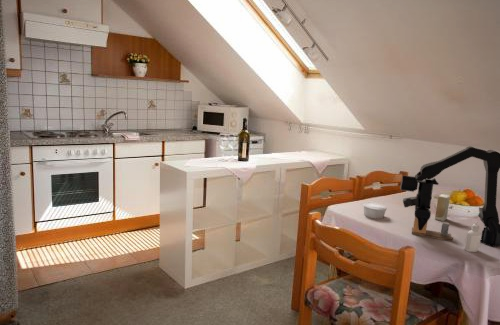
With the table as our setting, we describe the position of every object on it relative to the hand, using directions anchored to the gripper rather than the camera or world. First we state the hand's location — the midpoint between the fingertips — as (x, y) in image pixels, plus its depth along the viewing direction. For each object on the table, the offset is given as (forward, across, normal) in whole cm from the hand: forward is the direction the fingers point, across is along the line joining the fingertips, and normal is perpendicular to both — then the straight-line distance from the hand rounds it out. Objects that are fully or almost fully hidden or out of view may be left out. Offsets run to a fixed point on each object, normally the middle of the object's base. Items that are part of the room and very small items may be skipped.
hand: (420, 227), depth 181 cm
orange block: (+2, 0, 0) cm, 2 cm away
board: (+3, 0, +5) cm, 6 cm away
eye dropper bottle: (+3, +11, +20) cm, 23 cm away
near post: (+3, 0, +10) cm, 10 cm away
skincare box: (+3, -30, +10) cm, 31 cm away
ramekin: (+3, -16, -21) cm, 27 cm away
